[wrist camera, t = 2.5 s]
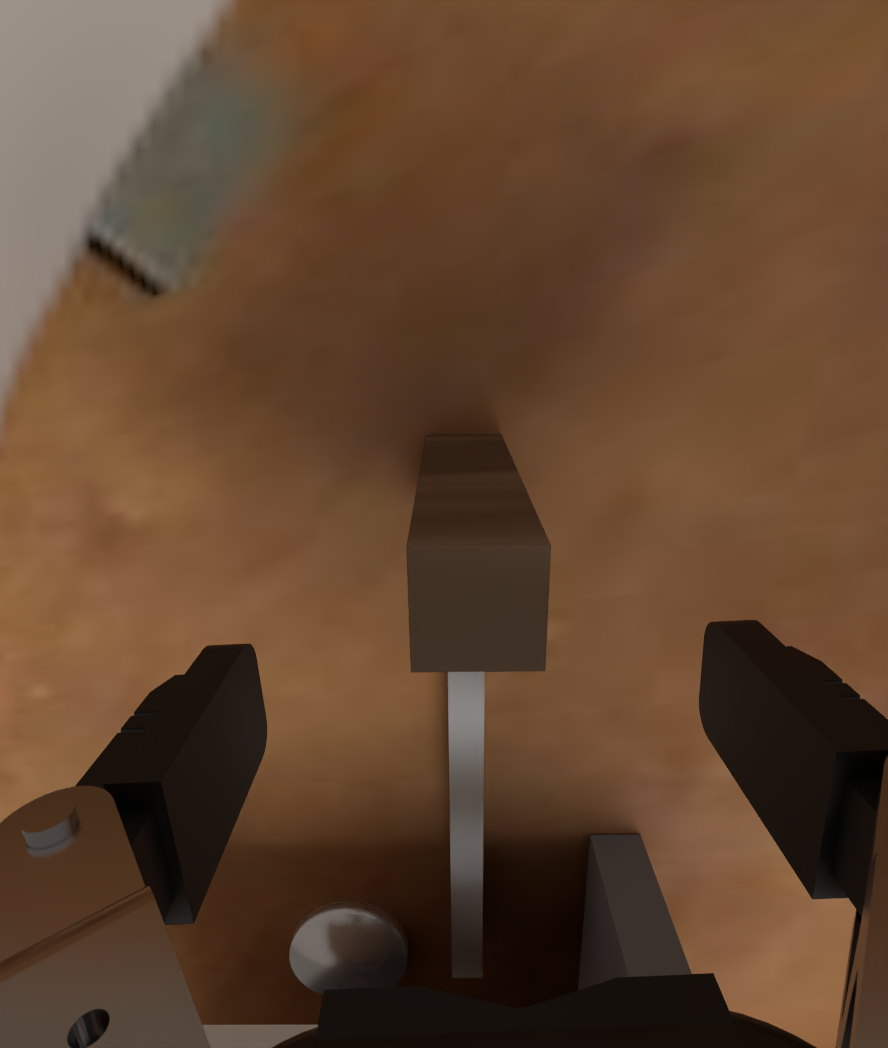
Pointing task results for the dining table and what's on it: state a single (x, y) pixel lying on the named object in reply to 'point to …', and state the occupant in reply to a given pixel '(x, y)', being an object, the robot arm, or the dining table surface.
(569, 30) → the dining table surface
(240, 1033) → the cabinet
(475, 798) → the blade tool
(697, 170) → the dining table surface
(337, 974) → the ball
